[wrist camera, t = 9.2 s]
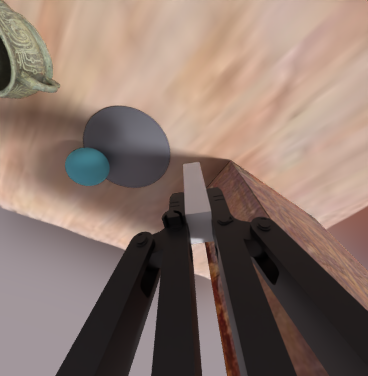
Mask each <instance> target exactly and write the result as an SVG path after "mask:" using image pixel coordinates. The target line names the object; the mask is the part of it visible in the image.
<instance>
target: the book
mask: <svg viewBox="0 0 368 376" xmlns="http://www.w3.org/2000/svg"><path fill="white" fill-rule="evenodd" d="M213 187H218V188H220V189H221V190H222V192H223V195H224V197H225V200H226V202H227V205H228V208H229V210H230V213H231V215H232V216H234V218H236V219H238V220H241V221H248V222H251V221H252V219H254V218H256V217H267V218H270V219H272V220H273V221H274V222H275V223H277V224H278V225H279V226H280V227H281V228H282V229H283V230H284V231H285V232H286V233H287V234H288V235H289V236H290V237H291V238H292V239H293V240H294V241H295V242H296V243H297V244H298V245H300V246H301V247H302V248H303V249H304V250H305V251H306V252H307V253H308V254H309V255H310V256H311V257H312V258H313V259H314V260H315V261H316V262H317V263H318V264H319V265H320V266H321V267H323V268H324V269H325V270H326V271H327V272H328V273H329V274H330V275H331V276H332V277H333V278H334V279H335V280H336V281H337V282H338V283H339V284H340V285H341V286H342V287H343V288H344V289H345V290H347V291H348V292H349V293H350V294H351V295H352V296H353V297H354V298H355V299H356V300H357V301H358V302H359V303H360V304H361V305H362V306H363V307H364V308H365V309H366V310H367V311H368V271H367V270H366V269H365V268H364V267H363V266H362V265H361V264H360V263H359V262H358V261H357V260H356V259H355V258H354V257H353V256H352V255H351V254H350V253H349V252H348V251H347V250H346V249H345V248H344V247H343V246H342V245H341V244H340V243H339V242H338V241H337V240H336V239H335V238H334V237H333V236H332V235H331V234H330V233H329V232H328V231H327V230H326V229H325V228H324V227H323V226H322V225H321V224H320V223H319V222H318V221H317V220H316V219H315V218H313V217H312V216H311V215H309V214H308V213H306V212H305V211H303V210H302V209H300V208H299V207H298V206H296V205H295V204H293V203H292V202H290V201H289V200H287V199H286V198H285V197H283V196H282V195H280V194H279V193H277V192H276V191H274V190H273V189H272V188H270V187H269V186H267V185H266V184H264V183H263V182H261V181H260V180H259V179H257V178H256V177H254V176H253V175H251V174H250V173H248V172H247V171H246V170H244V169H243V168H241V167H240V166H238V165H237V164H235V163H234V162H233V161H230V162H229V163H228V164H227V165H226V167H225V168H224V169H223V170H222V171H221V172H220V173H219V175H218V176H217V177H216V178H215V179H214V180H213V181H212V182H211V184H210V185H209V186H208V187H207V188H213ZM205 246H206V252H207V258H208V264H209V270H210V276H211V282H212V288H213V294H214V300H215V306H216V312H217V318H218V323H219V330H220V336H221V342H222V348H223V353H224V360H225V366H226V372H227V376H241V375H240V370H239V365H238V360H237V355H236V350H235V345H234V340H233V336H232V331H231V326H230V321H229V316H228V311H227V306H226V301H225V296H224V291H223V287H222V282H221V277H220V272H219V267H218V262H217V257H216V256H215V245H214V241H212V242H205ZM253 265H254V264H253ZM254 268H255V270H256V273H257V275H258V278H259V280H260V283H261V285H262V288H263V290H264V293H265V295H266V298H267V300H268V303H269V306H270V308H271V311H272V313H273V316H274V318H275V321H276V323H277V326H278V328H279V331H280V333H281V336H282V339H283V341H284V344H285V346H286V349H287V351H288V354H289V356H290V359H291V361H292V364H293V366H294V369H295V372H296V374H297V376H329V375H328V373H327V372H326V370H325V369H324V367H323V366H322V364H321V363H320V361H319V360H318V358H317V357H316V355H315V354H314V352H313V351H312V350H311V348H310V347H309V345H308V344H307V342H306V341H305V339H304V338H303V336H302V335H301V333H300V332H299V330H298V329H297V327H296V326H295V324H294V323H293V321H292V320H291V318H290V317H289V316H288V314H287V313H286V311H285V310H284V308H283V307H282V305H281V304H280V302H279V301H278V299H277V298H276V296H275V295H274V293H273V292H272V290H271V289H270V287H269V286H268V284H267V283H266V282H265V280H264V279H263V277H262V276H261V274H260V273H259V271H258V270H257V268H256V267H255V265H254Z"/></svg>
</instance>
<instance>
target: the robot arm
mask: <svg viewBox="0 0 368 376" xmlns="http://www.w3.org/2000/svg"><path fill="white" fill-rule="evenodd" d="M183 175H184V192H181V193H174V194H172V196H171V197H170V204H169V211H167V212H165V214H164V215H163V216H162V221H163V224H164V227H165V228H164V229H163V230H162V231H160V232H158V233H155V234H153V235H152V234H151V233H149V232H141V233H138V234H137V235H135V236H134V237H133V238H132V240H131V241H130V243H129V245H128V247H127V249H126V250H125V253H124V254H123V256H122V258H121V259H120V261H119V263H118V265H117V267H116V268H115V270H114V272H113V274H112V276H111V277H110V279H109V281H108V283H107V285H106V286H105V288H104V290H103V292H102V293H101V295H100V297H99V299H98V301H97V302H96V304H95V306H94V308H93V309H92V311H91V313H90V315H89V317H88V319H87V320H86V322H85V324H84V326H83V328H82V329H81V331H80V333H79V335H78V337H77V338H76V340H75V342H74V344H73V345H72V347H71V349H70V351H69V353H68V354H67V356H66V358H65V360H64V361H63V363H62V365H61V367H60V369H59V370H58V372H57V374H56V376H128V374H129V371H130V368H131V365H132V362H133V359H134V356H135V352H136V350H137V347H138V344H139V340H140V337H141V334H142V331H143V328H144V325H145V321H146V319H147V315H148V312H149V309H150V306H151V303H152V300H153V297H154V294H155V291H156V288H157V284H158V281H159V278H160V287H159V298H158V309H157V320H156V331H155V341H154V352H153V364H152V374H151V376H202V369H201V356H200V342H199V330H198V317H197V304H196V291H195V279H194V266H193V253H192V247H191V244H195V243H204V242H212V241H214V245H215V256H216V257H217V262H218V267H219V272H220V277H221V282H222V287H223V291H224V296H225V301H226V306H227V311H228V316H229V321H230V326H231V331H232V336H233V340H234V345H235V350H236V355H237V360H238V365H239V370H240V375H241V376H297V374H296V372H295V369H294V366H293V364H292V361H291V359H290V356H289V354H288V351H287V349H286V346H285V344H284V341H283V339H282V336H281V333H280V331H279V328H278V326H277V323H276V321H275V318H274V316H273V313H272V311H271V308H270V306H269V303H268V300H267V298H266V295H265V293H264V290H263V288H262V285H261V283H260V280H259V278H258V275H257V273H256V270H255V268H254V265H255V267H256V268H257V270H258V271H259V273H260V274H261V276H262V277H263V279H264V280H265V282H266V283H267V284H268V286H269V287H270V289H271V290H272V292H273V293H274V295H275V296H276V298H277V299H278V301H279V302H280V304H281V305H282V307H283V308H284V310H285V311H286V313H287V314H288V316H289V317H290V318H291V320H292V321H293V323H294V324H295V326H296V327H297V329H298V330H299V332H300V333H301V335H302V336H303V338H304V339H305V341H306V342H307V344H308V345H309V347H310V348H311V350H312V351H313V352H314V354H315V355H316V357H317V358H318V360H319V361H320V363H321V364H322V366H323V367H324V369H325V370H326V372H327V373H328V375H329V376H368V311H367V310H366V309H365V308H364V307H363V306H362V305H361V304H360V303H359V302H358V301H357V300H356V299H355V298H354V297H353V296H352V295H351V294H350V293H349V292H348V291H347V290H345V289H344V288H343V287H342V286H341V285H340V284H339V283H338V282H337V281H336V280H335V279H334V278H333V277H332V276H331V275H330V274H329V273H328V272H327V271H326V270H325V269H324V268H323V267H321V266H320V265H319V264H318V263H317V262H316V261H315V260H314V259H313V258H312V257H311V256H310V255H309V254H308V253H307V252H306V251H305V250H304V249H303V248H302V247H301V246H300V245H298V244H297V243H296V242H295V241H294V240H293V239H292V238H291V237H290V236H289V235H288V234H287V233H286V232H285V231H284V230H283V229H282V228H281V227H280V226H279V225H278V224H277V223H275V222H274V221H273V220H272V219H270V218H267V217H256V218H254V219H252V221H251V222H248V221H241V220H238V219H236V218H234V216H232V215H231V213H230V210H229V208H228V205H227V202H226V200H225V197H224V195H223V192H222V190H221V189H220V188H218V187H213V188H206V187H205V183H204V179H203V175H202V171H201V166H200V162H194V163H187V164H183ZM253 264H254V265H253ZM160 275H161V277H160Z"/></svg>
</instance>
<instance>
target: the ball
mask: <svg viewBox="0 0 368 376" xmlns="http://www.w3.org/2000/svg"><path fill="white" fill-rule="evenodd" d="M109 168H110V167H109V162H108V160H107V158H106V157H105V156H104V155H103V154H102V153H101V152H100V151H98V150H96V149H93V148H79V149H76V150H74V151H73V152H71V153H70V154H69V155H68V157H67V159H66V162H65V169H66V172H67V174H68V176H69V177H70V178H71V179H72V180H73V181H74V182H76V183H78V184H81V185H85V186H93V185H97V184H99V183H101V182H102V181H104V180H105V179H106V177H107V176H108V174H109Z"/></svg>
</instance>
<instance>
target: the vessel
mask: <svg viewBox="0 0 368 376" xmlns="http://www.w3.org/2000/svg"><path fill="white" fill-rule="evenodd" d="M52 75H53V65H52V60H51V57H50V54H49V52H48V49H47V47H46V44H45V42H44V41H43V39H42V38H41V36H40V35H39V33H38V32H37V30H36V29H35V28H34V27H33V26H32V25H31V24H30V23H29V22H28V21H27V20H26V19H25V18H24V17H23V16H22V15H20V14H18V13H16V12H14V11H13V10H12V9H11V8H10V7H9V6H8V5H7V4H6V3H5V2H4V1H3V0H0V97H2V98H15V99H21V98H25V97H27V96H30V95H32V94H35V93H36V92H37V91H43V92H48V93H54V92H56V91H57V88H60V84H59V83H57V82H56V81H54V80H52Z"/></svg>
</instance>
